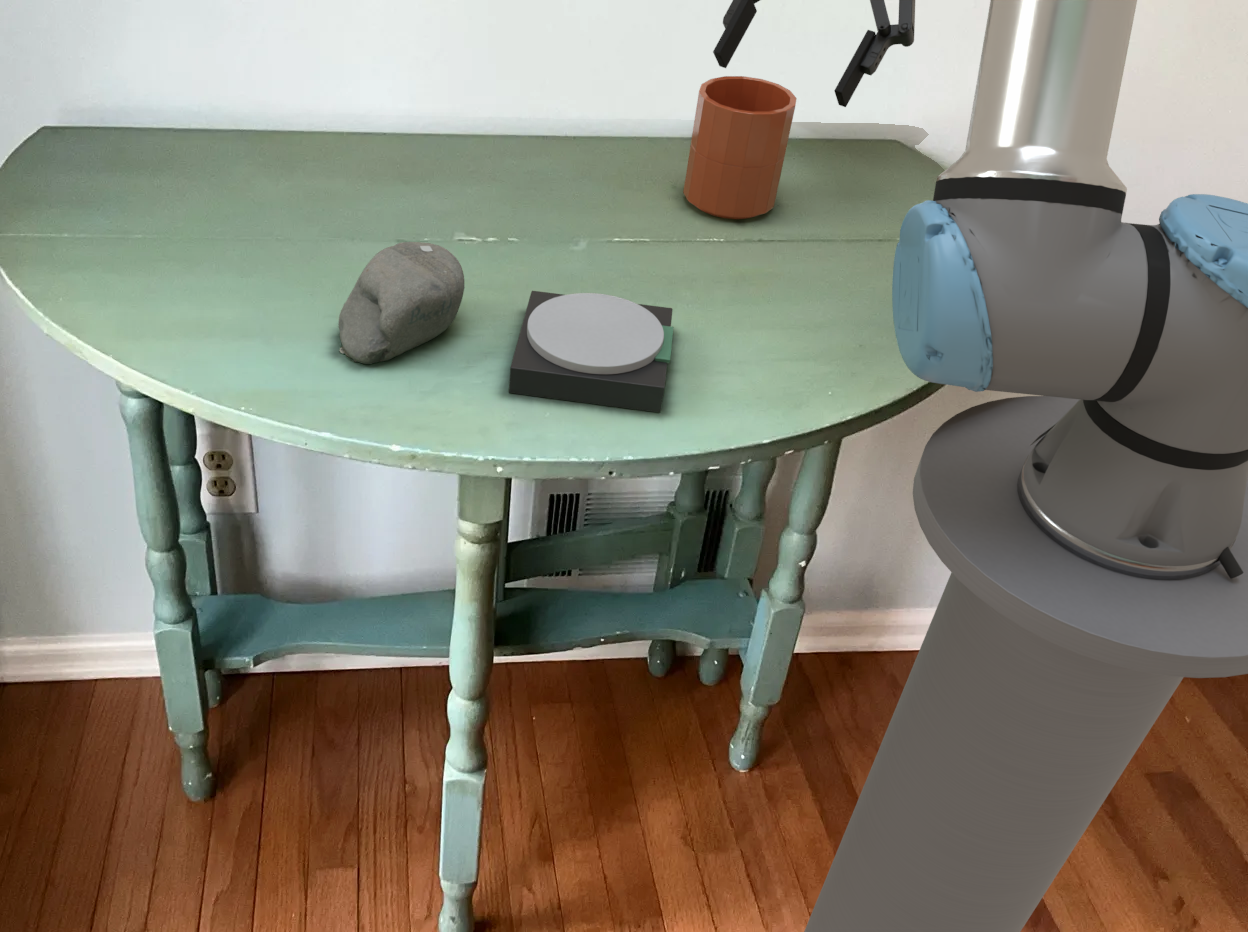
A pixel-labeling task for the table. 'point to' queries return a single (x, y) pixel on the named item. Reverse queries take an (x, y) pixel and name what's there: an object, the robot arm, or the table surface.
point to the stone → (400, 301)
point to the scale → (593, 350)
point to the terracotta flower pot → (738, 146)
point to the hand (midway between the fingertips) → (778, 79)
